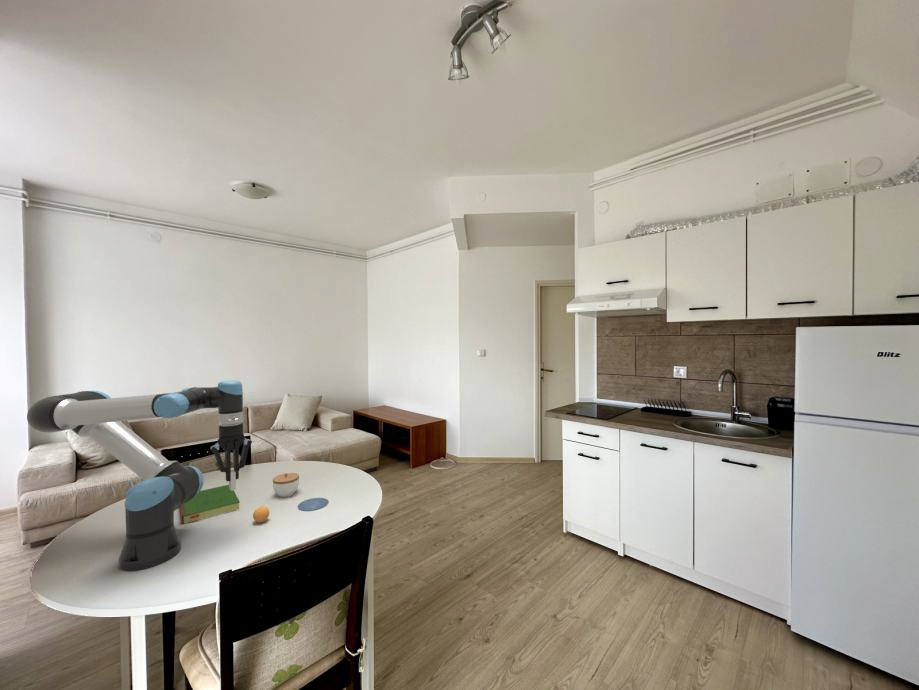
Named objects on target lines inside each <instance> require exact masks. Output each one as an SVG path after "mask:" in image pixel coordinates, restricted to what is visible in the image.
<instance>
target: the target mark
mask: <svg viewBox="0 0 919 690" xmlns="http://www.w3.org/2000/svg"><path fill="white" fill-rule="evenodd" d="M329 503H330V502H329V499H327V498H326V497H325V498H324V497H313V498H308V499H305V500H303V501H301V502H300V503H298V505H297V509H298V510H300V511H303V512H312V511H317V510H321V509H323V508H325V507H326V506H328V504H329Z"/></svg>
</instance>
